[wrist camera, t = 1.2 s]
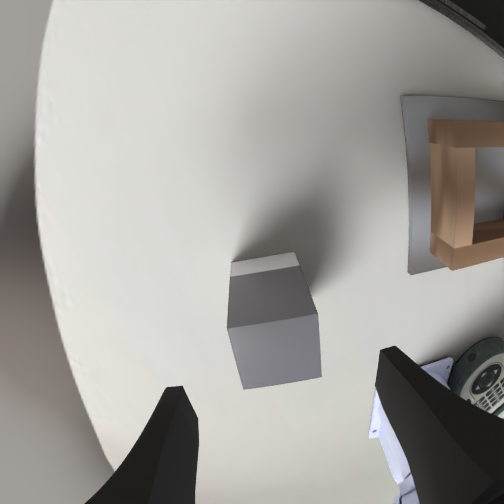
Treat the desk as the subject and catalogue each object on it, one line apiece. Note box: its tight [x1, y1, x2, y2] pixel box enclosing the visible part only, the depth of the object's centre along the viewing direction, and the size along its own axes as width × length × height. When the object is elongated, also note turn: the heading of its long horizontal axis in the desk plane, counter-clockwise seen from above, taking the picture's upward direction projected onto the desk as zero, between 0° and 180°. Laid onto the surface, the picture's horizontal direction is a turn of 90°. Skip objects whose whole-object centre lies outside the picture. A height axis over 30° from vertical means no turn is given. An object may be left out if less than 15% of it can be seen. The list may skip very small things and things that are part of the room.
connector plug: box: [227, 252, 322, 389], centre depth 18 cm, size 4×4×7 cm
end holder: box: [401, 96, 504, 275], centre depth 17 cm, size 12×12×4 cm
